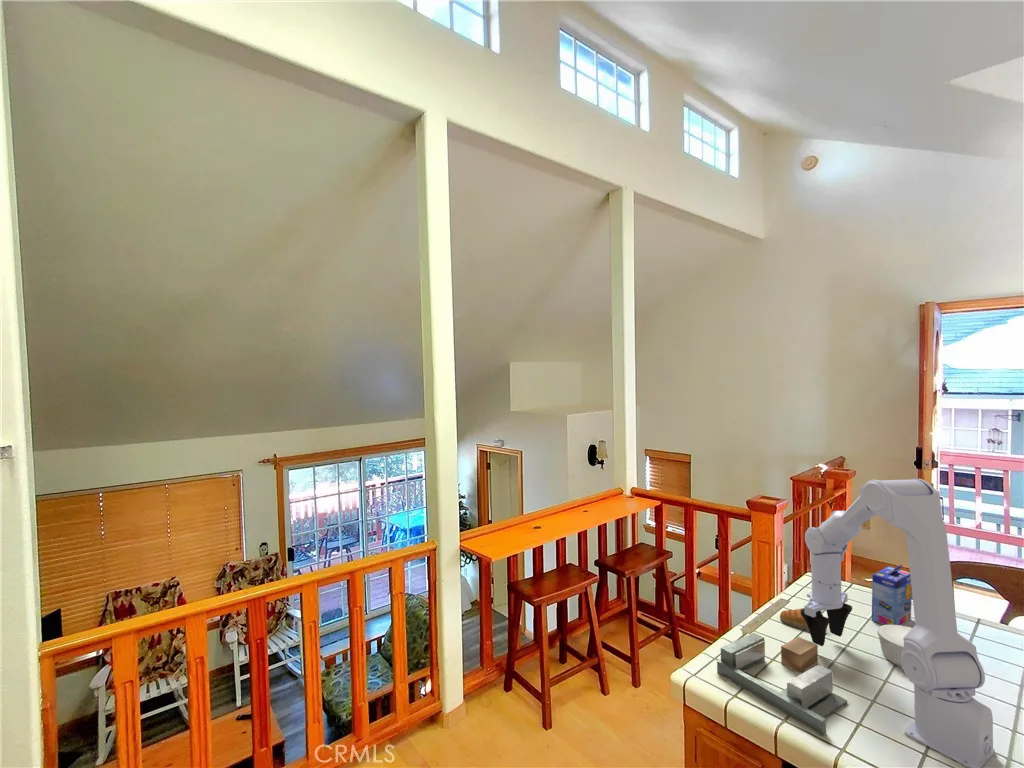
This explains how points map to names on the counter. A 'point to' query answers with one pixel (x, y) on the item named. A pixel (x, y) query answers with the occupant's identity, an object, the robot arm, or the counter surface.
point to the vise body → (752, 653)
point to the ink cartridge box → (891, 596)
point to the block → (799, 654)
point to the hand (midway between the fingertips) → (827, 639)
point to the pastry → (794, 618)
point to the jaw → (810, 686)
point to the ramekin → (892, 641)
